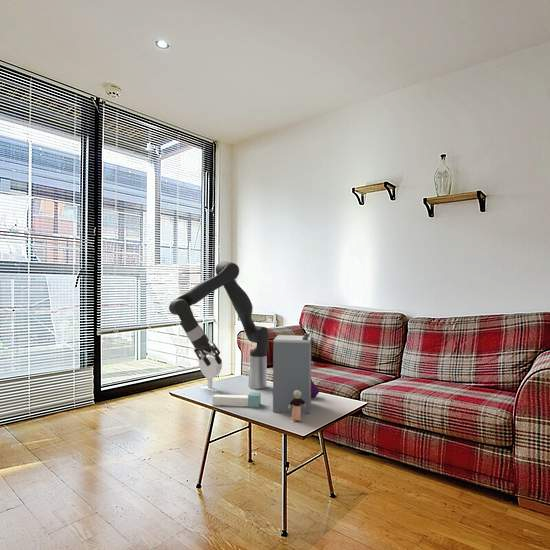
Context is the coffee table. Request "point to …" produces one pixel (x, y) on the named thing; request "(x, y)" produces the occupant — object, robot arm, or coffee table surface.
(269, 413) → the coffee table surface
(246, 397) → the cartridge
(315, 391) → the perfume bottle
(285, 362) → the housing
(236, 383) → the coffee table surface
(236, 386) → the coffee table surface
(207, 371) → the heart sculpture
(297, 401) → the grandmother figurine
